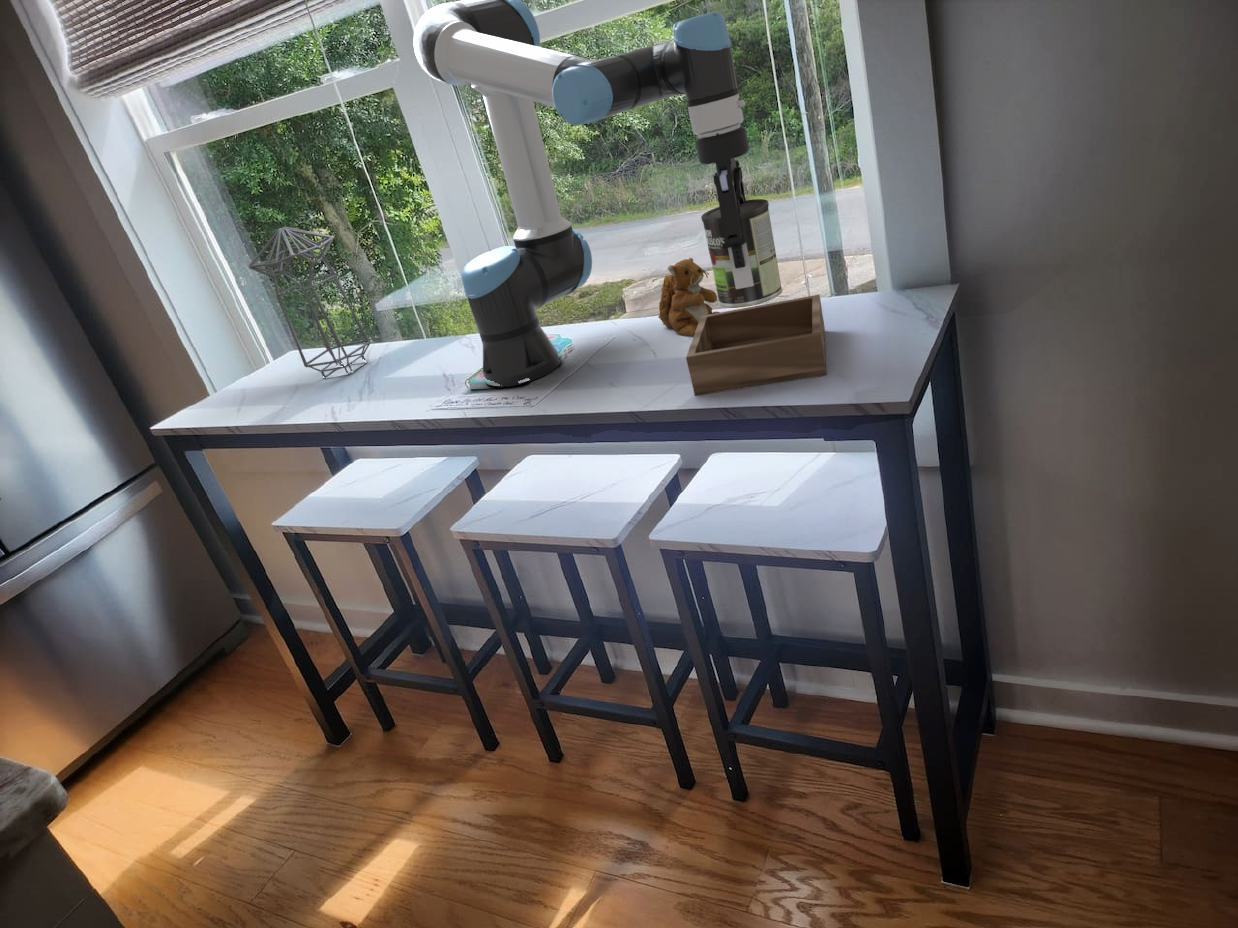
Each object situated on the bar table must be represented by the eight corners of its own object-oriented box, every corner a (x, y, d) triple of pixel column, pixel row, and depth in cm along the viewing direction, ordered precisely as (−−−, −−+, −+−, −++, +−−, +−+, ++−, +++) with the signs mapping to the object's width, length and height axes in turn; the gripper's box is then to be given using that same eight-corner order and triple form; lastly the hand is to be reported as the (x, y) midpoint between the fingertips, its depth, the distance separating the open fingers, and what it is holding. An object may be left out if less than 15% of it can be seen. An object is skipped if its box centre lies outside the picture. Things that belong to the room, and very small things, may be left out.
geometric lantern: (352, 380, 195) (286, 230, 181) (300, 389, 202) (232, 244, 187) (389, 354, 208) (330, 211, 193) (338, 363, 214) (278, 225, 200)
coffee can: (734, 312, 130) (716, 221, 125) (709, 301, 140) (691, 215, 134) (795, 292, 132) (779, 201, 126) (765, 282, 141) (750, 196, 136)
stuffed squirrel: (694, 338, 161) (679, 270, 156) (647, 331, 172) (632, 268, 167) (731, 319, 166) (718, 252, 160) (683, 314, 177) (669, 252, 171)
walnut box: (708, 350, 152) (701, 316, 150) (825, 330, 147) (819, 294, 144) (694, 395, 135) (686, 357, 132) (826, 375, 129) (820, 334, 126)
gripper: (738, 134, 115) (767, 293, 124) (749, 116, 134) (774, 254, 143) (684, 147, 117) (716, 303, 126) (703, 128, 136) (729, 263, 146)
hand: (747, 277), depth 135 cm, fingers closed on coffee can, 10 cm apart
